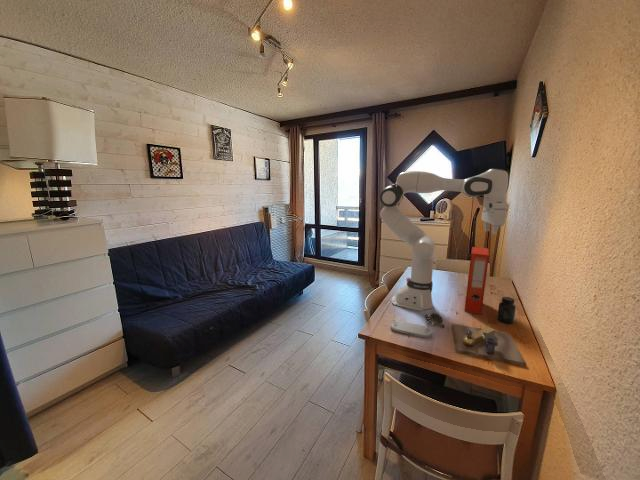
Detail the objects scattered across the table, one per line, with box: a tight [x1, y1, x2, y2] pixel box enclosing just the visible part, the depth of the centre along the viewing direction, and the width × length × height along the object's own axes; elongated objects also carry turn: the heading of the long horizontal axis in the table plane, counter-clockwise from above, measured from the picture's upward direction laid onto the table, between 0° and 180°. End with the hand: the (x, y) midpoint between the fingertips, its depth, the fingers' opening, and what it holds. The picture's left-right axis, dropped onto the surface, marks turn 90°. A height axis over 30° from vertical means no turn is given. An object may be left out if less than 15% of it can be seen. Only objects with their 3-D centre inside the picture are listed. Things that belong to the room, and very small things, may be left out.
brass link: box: [463, 326, 496, 346], centre depth 113 cm, size 18×4×5 cm, turn 118°
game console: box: [390, 320, 433, 338], centre depth 123 cm, size 18×2×8 cm
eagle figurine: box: [422, 311, 446, 329], centre depth 128 cm, size 8×7×9 cm
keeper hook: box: [482, 332, 498, 355], centre depth 106 cm, size 4×7×5 cm, turn 158°
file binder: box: [464, 246, 490, 315], centre depth 144 cm, size 8×17×32 cm, turn 149°
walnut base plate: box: [451, 323, 526, 367], centre depth 112 cm, size 23×22×2 cm
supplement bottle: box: [496, 296, 517, 325], centre depth 130 cm, size 7×7×12 cm
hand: (490, 232), depth 129 cm, fingers open, 8 cm apart
